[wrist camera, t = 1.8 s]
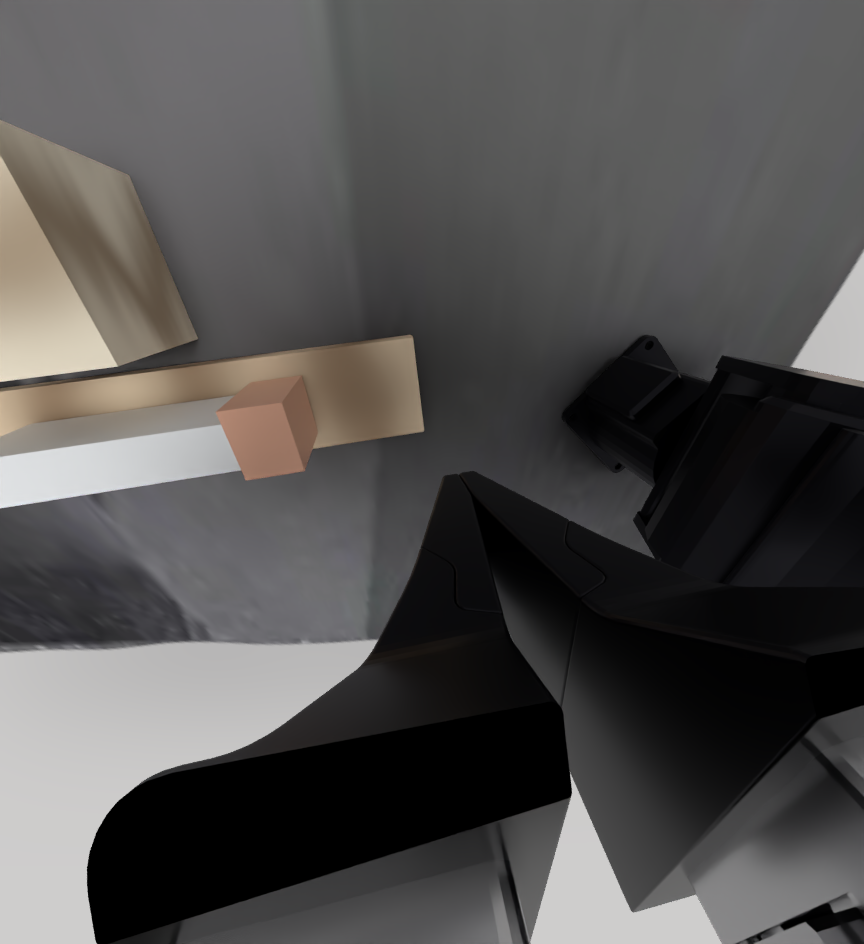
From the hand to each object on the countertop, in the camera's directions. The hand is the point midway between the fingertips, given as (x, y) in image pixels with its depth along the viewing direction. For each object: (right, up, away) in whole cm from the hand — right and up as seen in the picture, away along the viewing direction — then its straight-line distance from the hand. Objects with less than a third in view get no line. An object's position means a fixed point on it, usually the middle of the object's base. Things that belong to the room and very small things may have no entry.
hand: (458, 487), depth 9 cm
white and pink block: (-13, +3, +7) cm, 15 cm away
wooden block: (-15, +9, +5) cm, 18 cm away
